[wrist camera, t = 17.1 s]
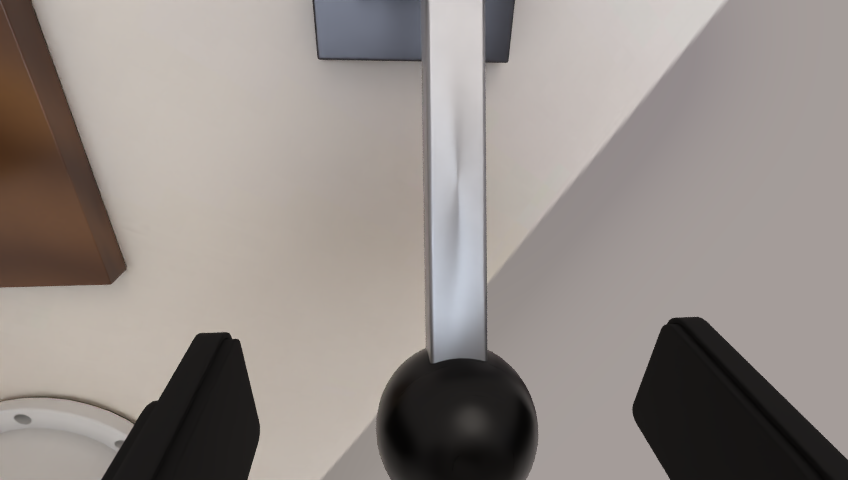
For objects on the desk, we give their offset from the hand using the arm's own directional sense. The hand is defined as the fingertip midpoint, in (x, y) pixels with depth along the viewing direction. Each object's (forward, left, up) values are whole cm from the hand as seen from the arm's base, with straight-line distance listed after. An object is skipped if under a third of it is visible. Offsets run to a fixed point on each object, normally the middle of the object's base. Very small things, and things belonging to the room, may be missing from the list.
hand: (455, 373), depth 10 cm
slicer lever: (+4, 0, -3) cm, 5 cm away
